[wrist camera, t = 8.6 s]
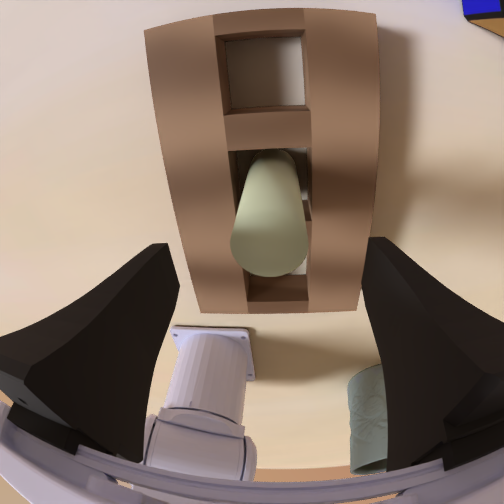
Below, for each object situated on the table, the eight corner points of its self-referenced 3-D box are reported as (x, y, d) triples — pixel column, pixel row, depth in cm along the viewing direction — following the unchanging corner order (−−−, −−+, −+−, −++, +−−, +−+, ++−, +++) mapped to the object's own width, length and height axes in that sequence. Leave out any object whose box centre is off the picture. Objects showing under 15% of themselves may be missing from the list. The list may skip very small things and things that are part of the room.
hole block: (349, 285, 23) (356, 310, 21) (208, 287, 25) (200, 312, 22) (360, 22, 12) (375, 13, 10) (163, 35, 14) (143, 30, 11)
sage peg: (297, 189, 19) (308, 274, 12) (253, 192, 20) (236, 278, 12) (294, 146, 18) (307, 208, 10) (247, 150, 18) (223, 214, 11)
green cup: (356, 359, 30) (369, 458, 20) (429, 355, 29) (453, 441, 19) (334, 399, 35) (339, 478, 26) (398, 395, 35) (410, 467, 25)
